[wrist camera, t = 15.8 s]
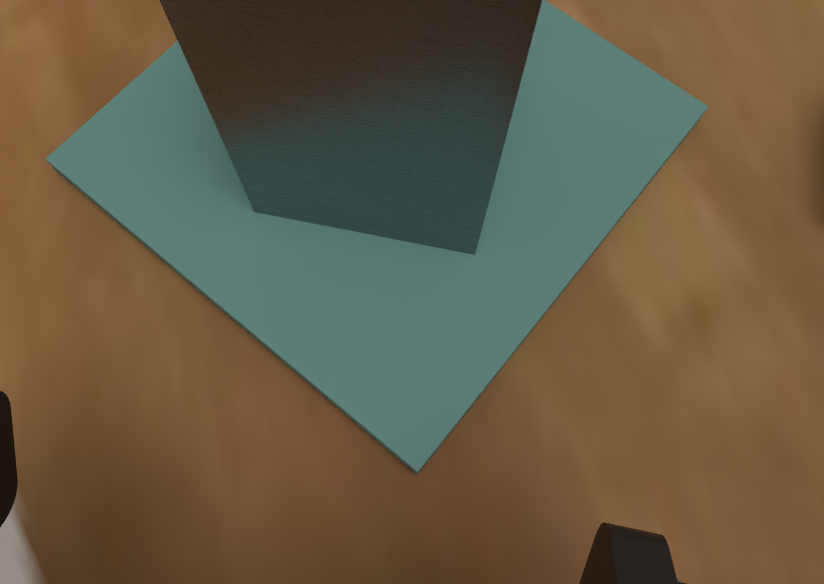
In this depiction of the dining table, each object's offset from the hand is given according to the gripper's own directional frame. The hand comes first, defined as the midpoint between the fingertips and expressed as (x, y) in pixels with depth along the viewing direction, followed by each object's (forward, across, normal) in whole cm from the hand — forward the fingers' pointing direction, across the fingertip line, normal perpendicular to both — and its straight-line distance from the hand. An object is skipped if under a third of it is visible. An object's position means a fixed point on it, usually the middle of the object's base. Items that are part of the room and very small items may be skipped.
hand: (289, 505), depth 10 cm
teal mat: (+14, +1, -2) cm, 15 cm away
